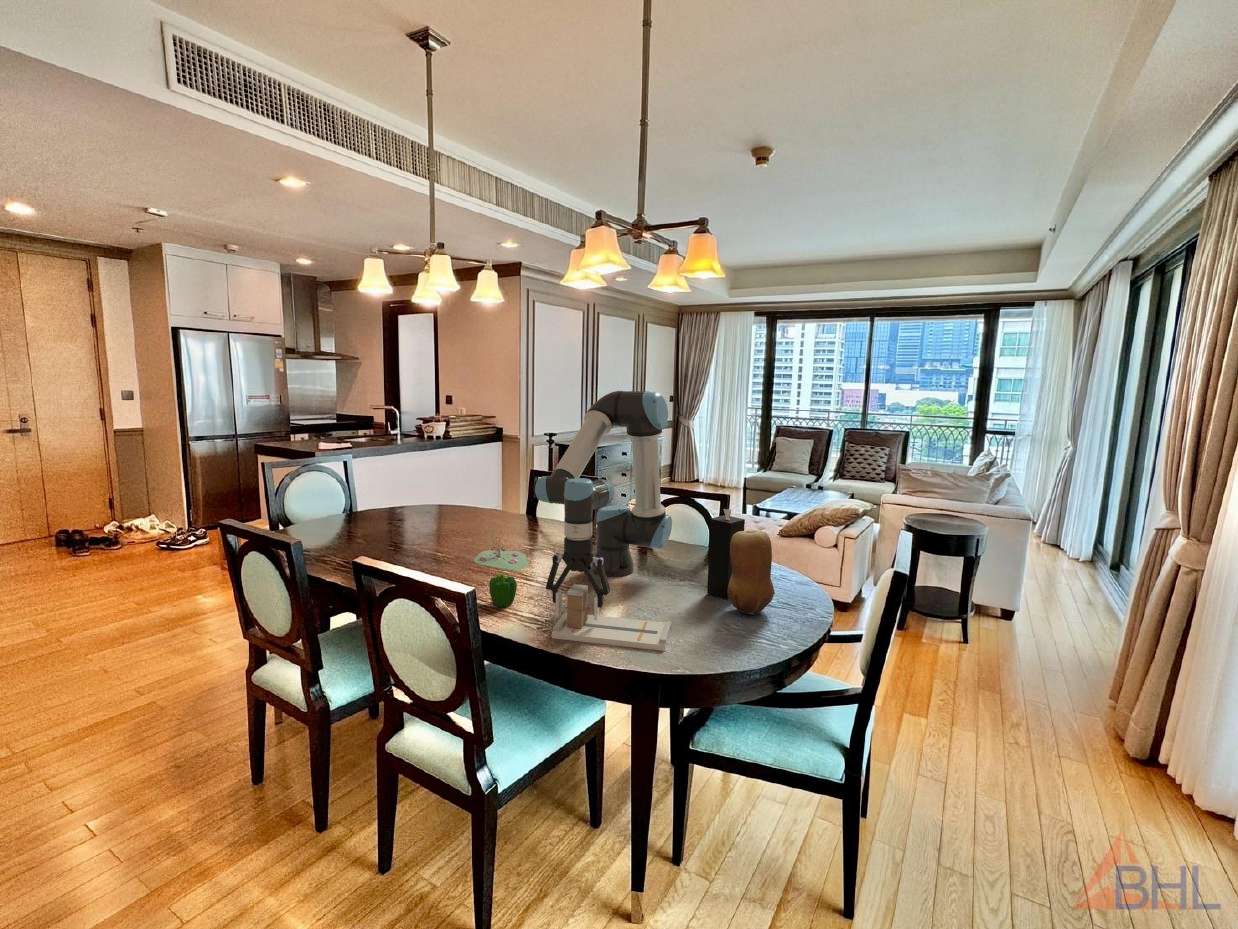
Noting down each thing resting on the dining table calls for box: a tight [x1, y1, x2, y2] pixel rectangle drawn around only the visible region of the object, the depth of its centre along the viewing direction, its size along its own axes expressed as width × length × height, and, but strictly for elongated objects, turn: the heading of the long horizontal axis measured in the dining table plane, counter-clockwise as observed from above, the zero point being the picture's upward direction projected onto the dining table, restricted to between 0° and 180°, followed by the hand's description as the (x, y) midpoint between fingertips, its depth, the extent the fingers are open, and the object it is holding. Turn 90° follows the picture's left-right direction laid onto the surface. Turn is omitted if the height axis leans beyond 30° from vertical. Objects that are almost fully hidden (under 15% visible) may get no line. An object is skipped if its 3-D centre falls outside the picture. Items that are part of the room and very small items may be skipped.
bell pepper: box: [488, 572, 518, 608], centre depth 179 cm, size 8×8×10 cm
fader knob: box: [566, 583, 589, 628], centre depth 161 cm, size 6×4×10 cm, turn 168°
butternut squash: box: [728, 529, 776, 616], centre depth 174 cm, size 14×13×25 cm
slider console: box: [551, 610, 673, 652], centre depth 160 cm, size 14×30×2 cm, turn 78°
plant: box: [473, 536, 530, 572], centre depth 221 cm, size 25×21×9 cm
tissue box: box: [706, 508, 746, 600], centre depth 189 cm, size 8×8×28 cm
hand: (577, 616), depth 162 cm, fingers open, 10 cm apart
